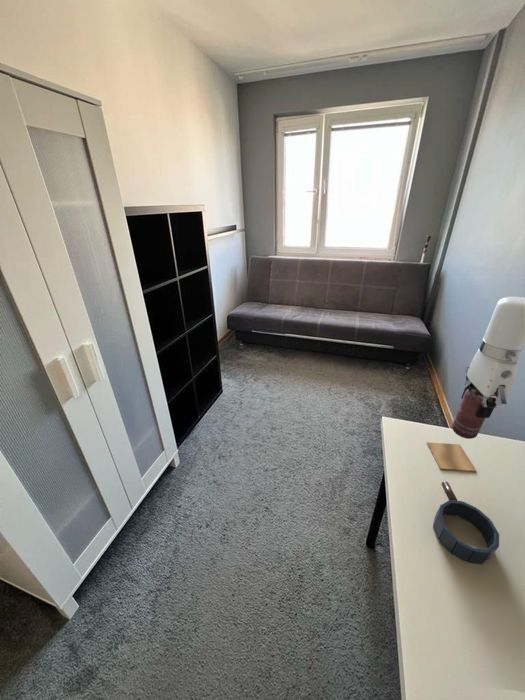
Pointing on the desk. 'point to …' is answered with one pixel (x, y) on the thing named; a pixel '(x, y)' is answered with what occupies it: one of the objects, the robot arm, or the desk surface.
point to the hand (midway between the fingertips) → (474, 407)
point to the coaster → (451, 457)
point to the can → (469, 414)
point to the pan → (475, 519)
